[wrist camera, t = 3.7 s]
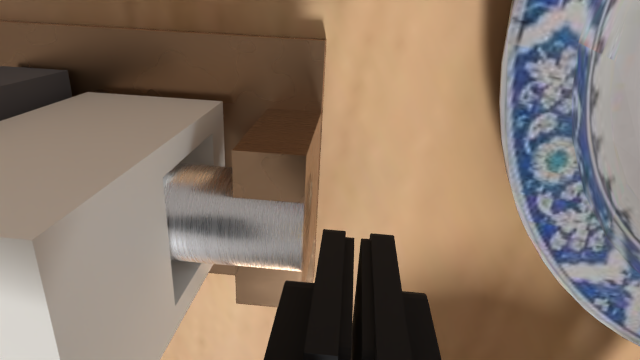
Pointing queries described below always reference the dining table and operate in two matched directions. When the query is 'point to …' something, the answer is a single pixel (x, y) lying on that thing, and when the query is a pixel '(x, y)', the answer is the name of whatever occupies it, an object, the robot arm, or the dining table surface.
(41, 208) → the sleeve
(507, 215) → the dining table surface
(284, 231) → the linear slide
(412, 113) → the dining table surface
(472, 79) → the dining table surface
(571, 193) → the ceramic plate
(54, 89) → the dark grey notched block
